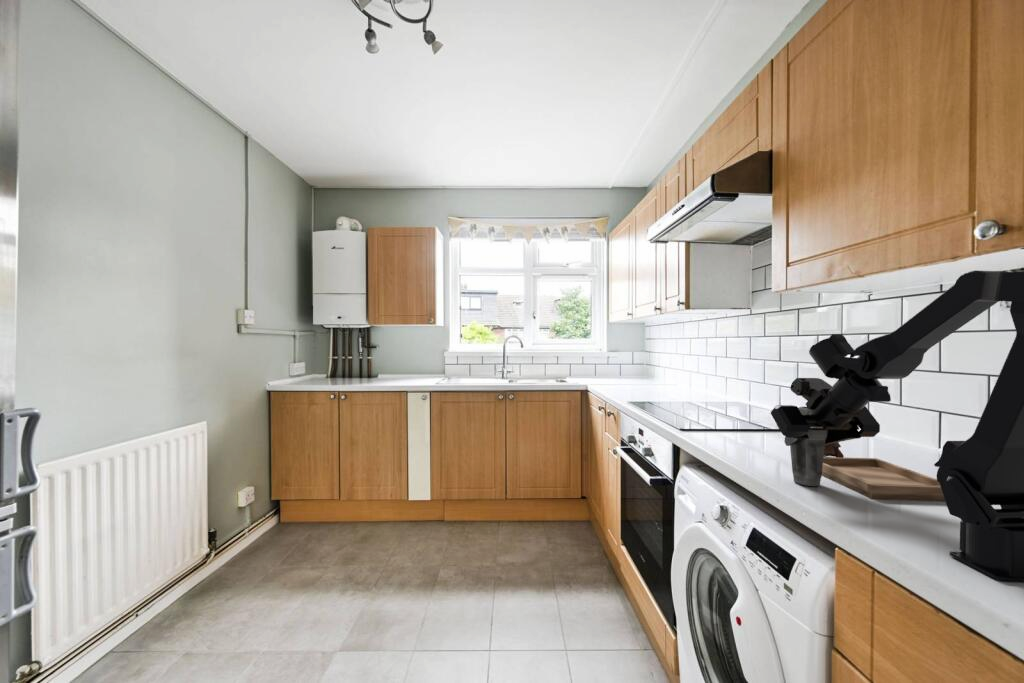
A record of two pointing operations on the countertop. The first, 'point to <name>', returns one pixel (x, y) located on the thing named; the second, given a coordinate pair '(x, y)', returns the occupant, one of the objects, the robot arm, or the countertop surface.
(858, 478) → the walnut tray
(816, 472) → the beverage cup
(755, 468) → the countertop surface
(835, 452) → the brown rounded piece
